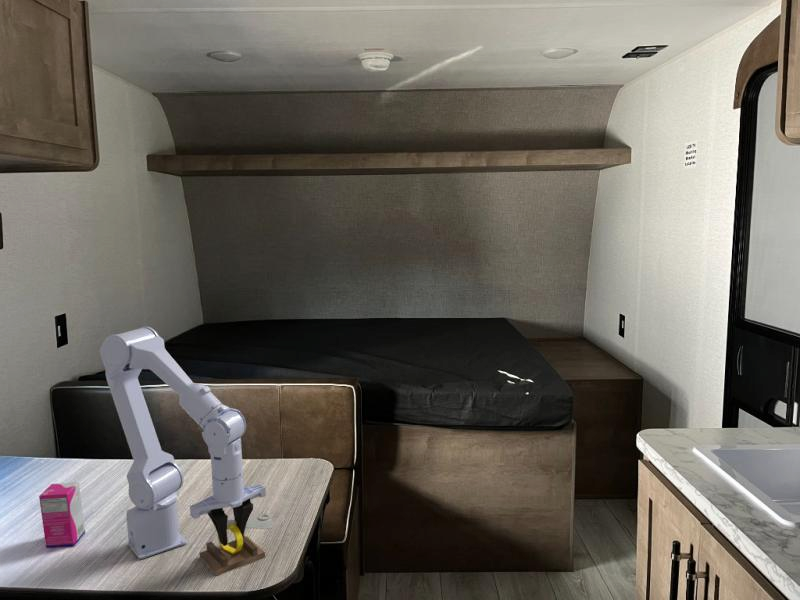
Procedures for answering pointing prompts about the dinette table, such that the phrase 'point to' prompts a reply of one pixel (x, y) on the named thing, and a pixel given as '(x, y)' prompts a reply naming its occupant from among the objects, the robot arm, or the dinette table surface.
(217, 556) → the rack
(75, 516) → the supplement box
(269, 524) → the mounting bracket
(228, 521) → the watch
